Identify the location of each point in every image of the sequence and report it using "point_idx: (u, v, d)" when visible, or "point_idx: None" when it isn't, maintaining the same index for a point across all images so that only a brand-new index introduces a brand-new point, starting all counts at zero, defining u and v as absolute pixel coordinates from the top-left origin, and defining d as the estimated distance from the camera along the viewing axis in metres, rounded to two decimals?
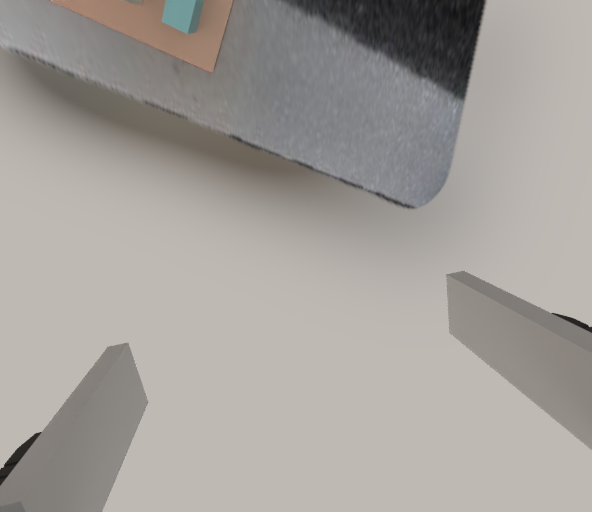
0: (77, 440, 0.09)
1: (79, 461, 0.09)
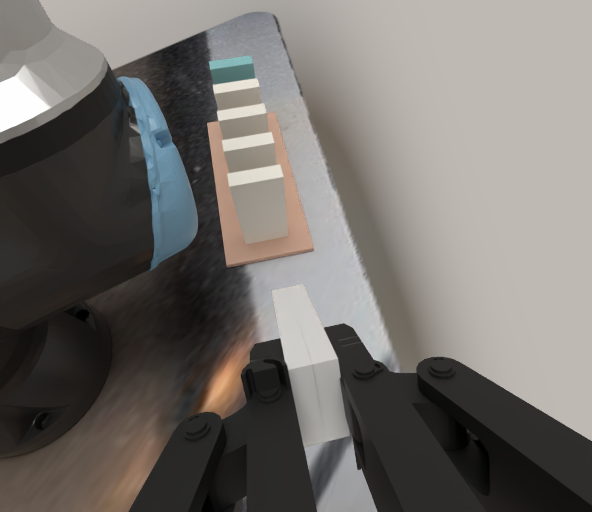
0: None
1: None
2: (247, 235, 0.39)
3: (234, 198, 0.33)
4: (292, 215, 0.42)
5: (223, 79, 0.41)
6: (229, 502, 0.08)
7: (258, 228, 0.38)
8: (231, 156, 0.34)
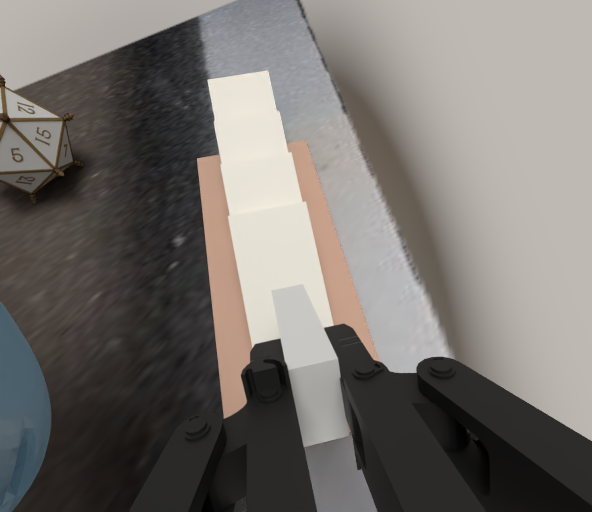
0: None
1: None
2: None
3: (235, 242, 0.21)
4: None
5: None
6: (229, 502, 0.08)
7: None
8: (231, 173, 0.24)
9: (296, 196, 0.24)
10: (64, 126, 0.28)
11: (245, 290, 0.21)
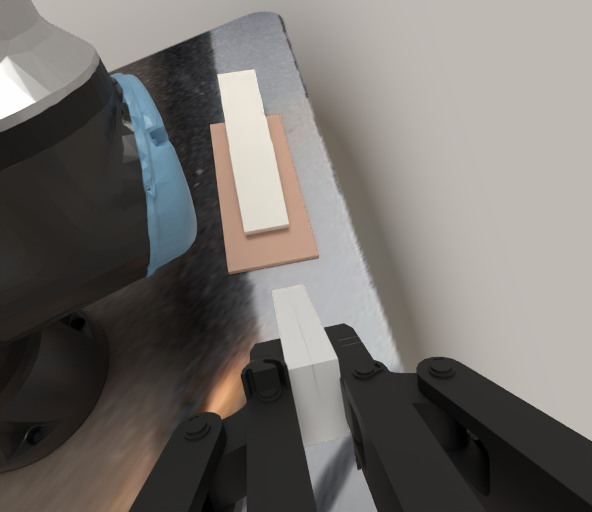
0: None
1: None
2: (245, 216, 0.38)
3: (233, 161, 0.39)
4: (297, 220, 0.41)
5: None
6: (229, 502, 0.08)
7: (255, 205, 0.39)
8: (231, 127, 0.42)
9: (268, 140, 0.42)
10: None
11: (238, 187, 0.39)
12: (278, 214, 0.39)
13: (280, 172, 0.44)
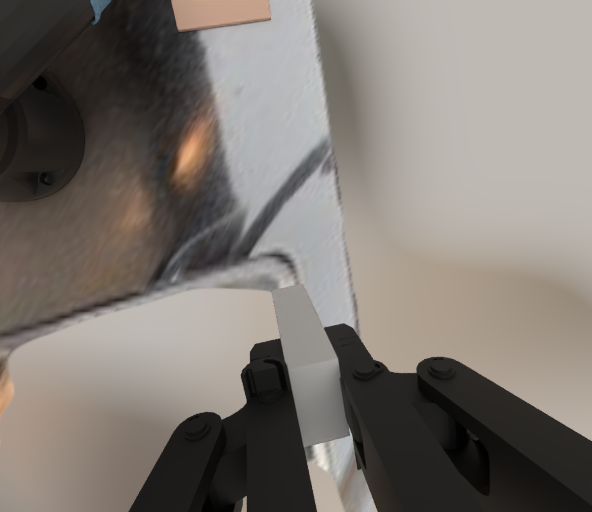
0: None
1: None
2: None
3: None
4: None
5: None
6: (229, 502, 0.08)
7: None
8: None
9: None
10: None
11: None
12: None
13: None
